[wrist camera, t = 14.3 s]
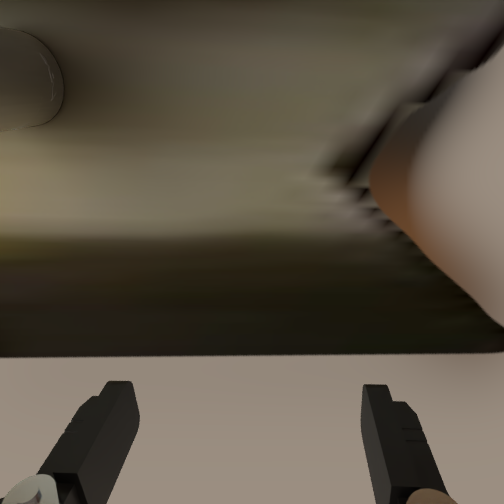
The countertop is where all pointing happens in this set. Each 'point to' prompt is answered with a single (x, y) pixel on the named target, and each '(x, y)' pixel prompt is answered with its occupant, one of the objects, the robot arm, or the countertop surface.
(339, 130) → the countertop surface
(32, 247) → the countertop surface
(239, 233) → the countertop surface
